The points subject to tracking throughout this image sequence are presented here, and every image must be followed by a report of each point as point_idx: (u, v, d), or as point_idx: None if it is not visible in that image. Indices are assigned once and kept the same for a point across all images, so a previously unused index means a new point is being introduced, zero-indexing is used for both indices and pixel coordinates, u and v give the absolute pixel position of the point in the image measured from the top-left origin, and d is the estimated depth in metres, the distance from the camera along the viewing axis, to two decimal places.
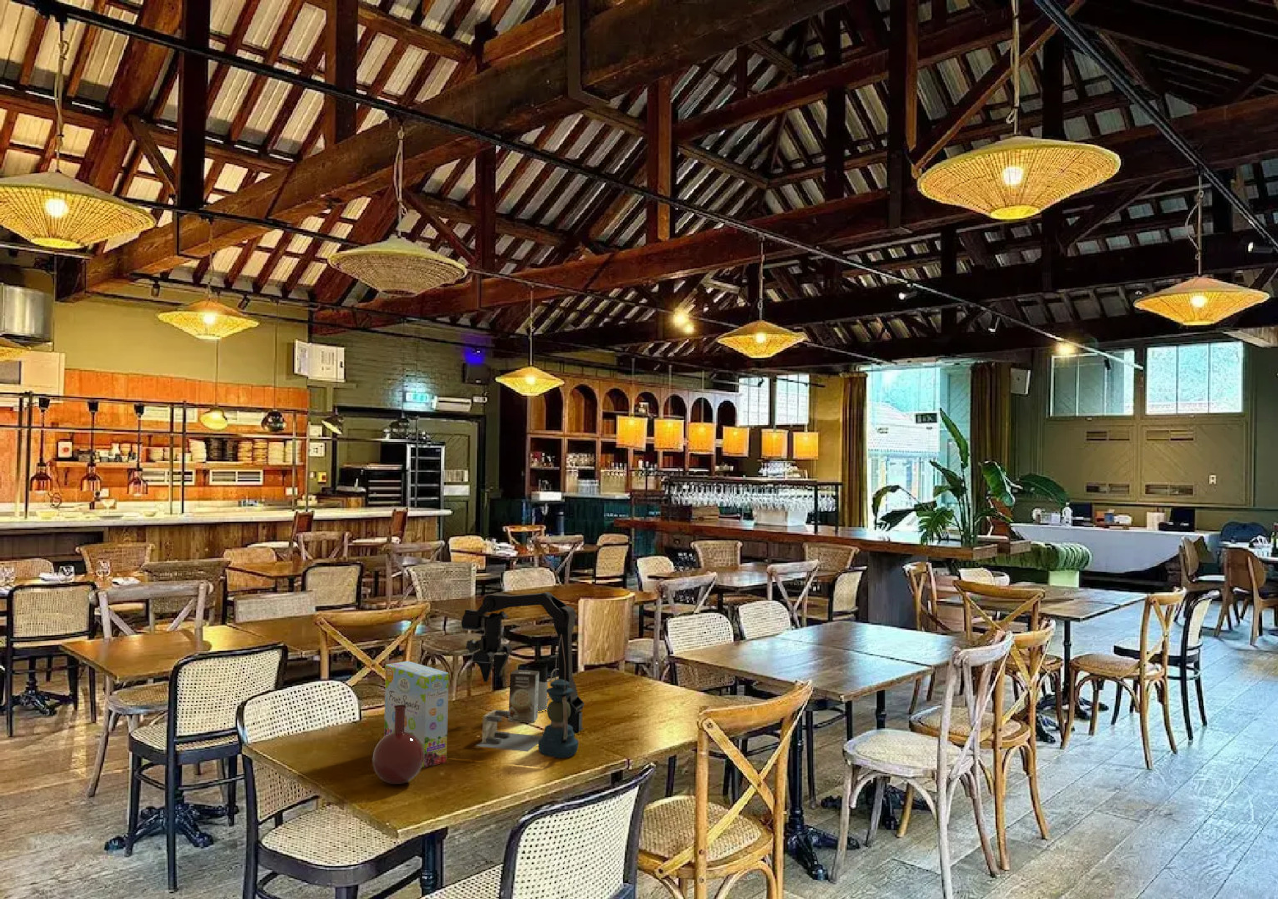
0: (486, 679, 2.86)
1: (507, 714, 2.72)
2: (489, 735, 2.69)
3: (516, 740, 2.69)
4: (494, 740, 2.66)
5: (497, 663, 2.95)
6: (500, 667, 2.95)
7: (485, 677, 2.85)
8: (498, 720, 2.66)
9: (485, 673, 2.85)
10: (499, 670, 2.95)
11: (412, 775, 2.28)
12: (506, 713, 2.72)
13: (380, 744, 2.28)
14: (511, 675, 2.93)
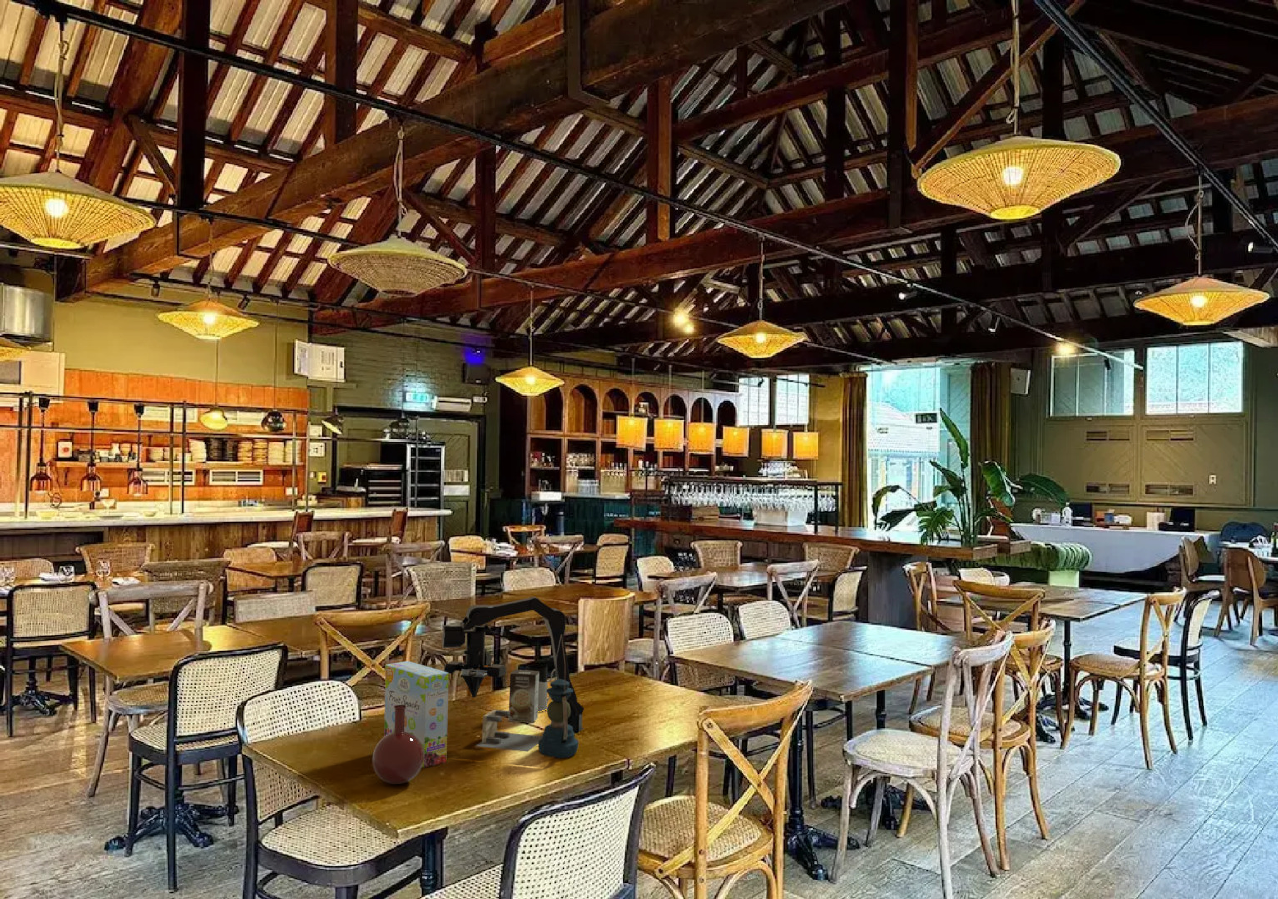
0: None
1: (507, 714, 2.72)
2: (489, 735, 2.69)
3: (516, 740, 2.69)
4: (494, 740, 2.66)
5: None
6: None
7: None
8: (498, 720, 2.66)
9: None
10: None
11: (412, 775, 2.28)
12: (506, 713, 2.72)
13: (380, 744, 2.28)
14: (511, 675, 2.93)
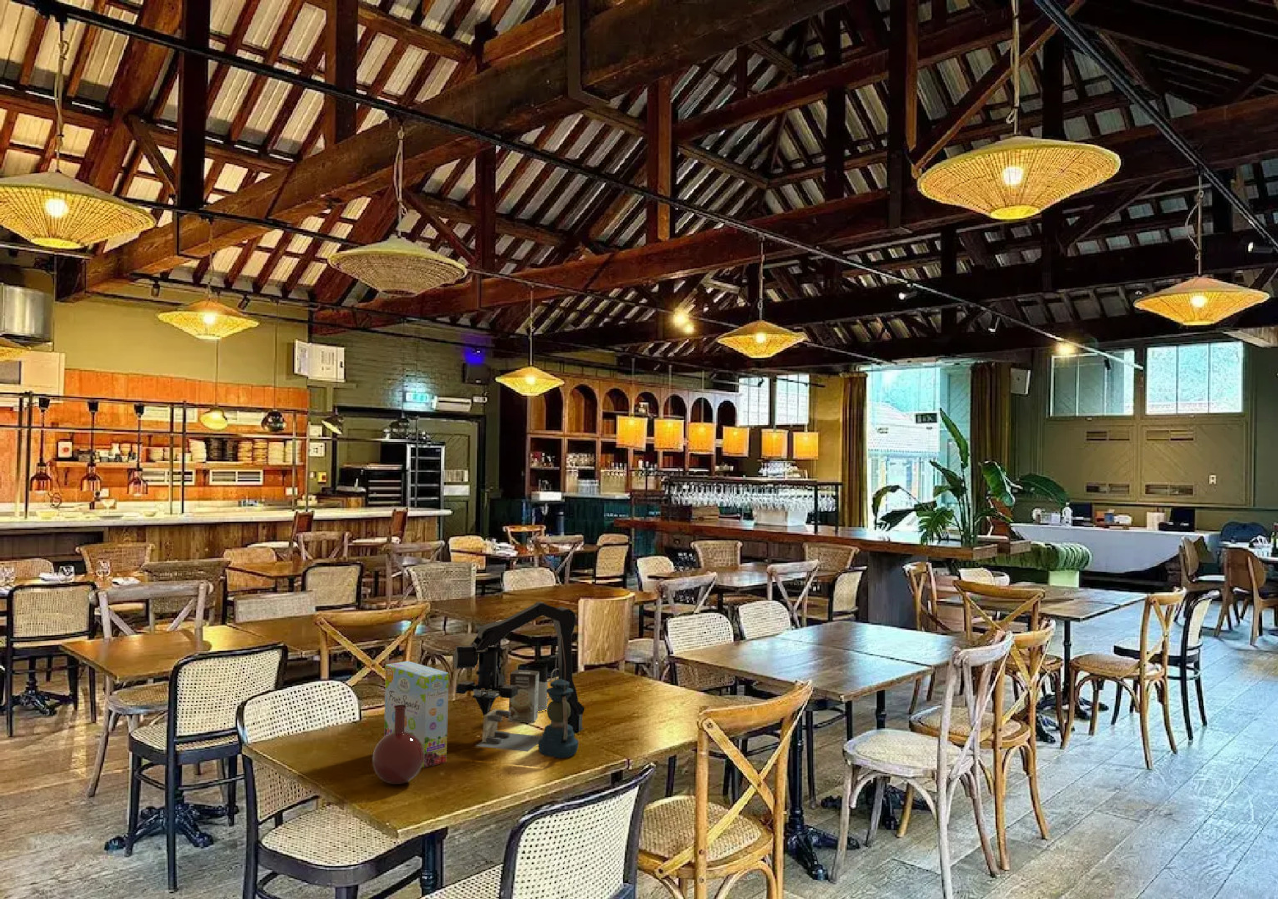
0: None
1: (508, 714, 2.72)
2: (489, 735, 2.69)
3: (516, 740, 2.69)
4: (494, 740, 2.66)
5: None
6: None
7: None
8: (499, 720, 2.66)
9: None
10: None
11: (412, 775, 2.28)
12: (507, 713, 2.72)
13: (380, 744, 2.28)
14: (511, 675, 2.93)
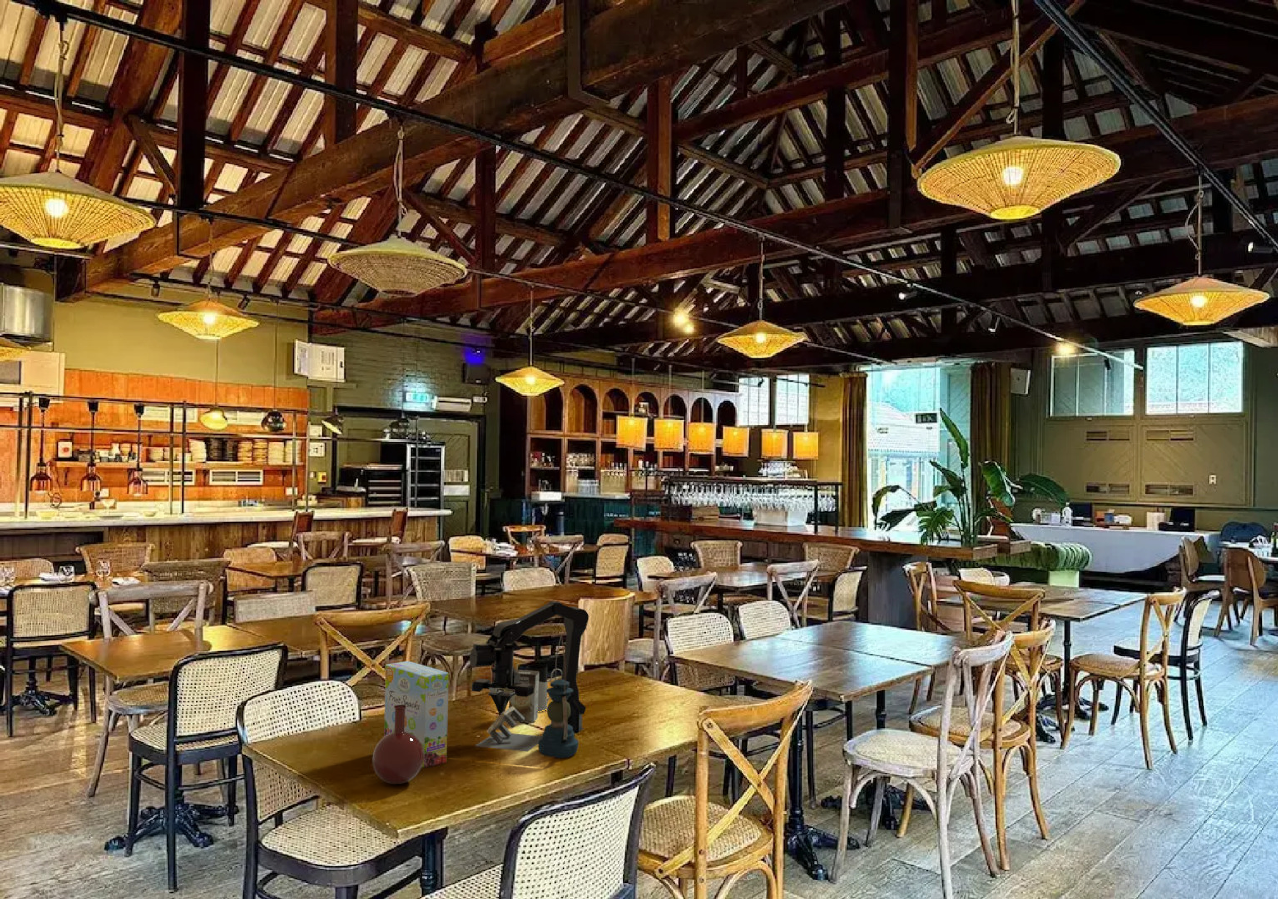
0: None
1: (521, 720, 2.71)
2: (495, 728, 2.68)
3: (516, 740, 2.69)
4: (497, 738, 2.65)
5: None
6: None
7: None
8: (512, 726, 2.64)
9: None
10: None
11: (412, 775, 2.28)
12: (521, 719, 2.71)
13: (380, 744, 2.28)
14: None
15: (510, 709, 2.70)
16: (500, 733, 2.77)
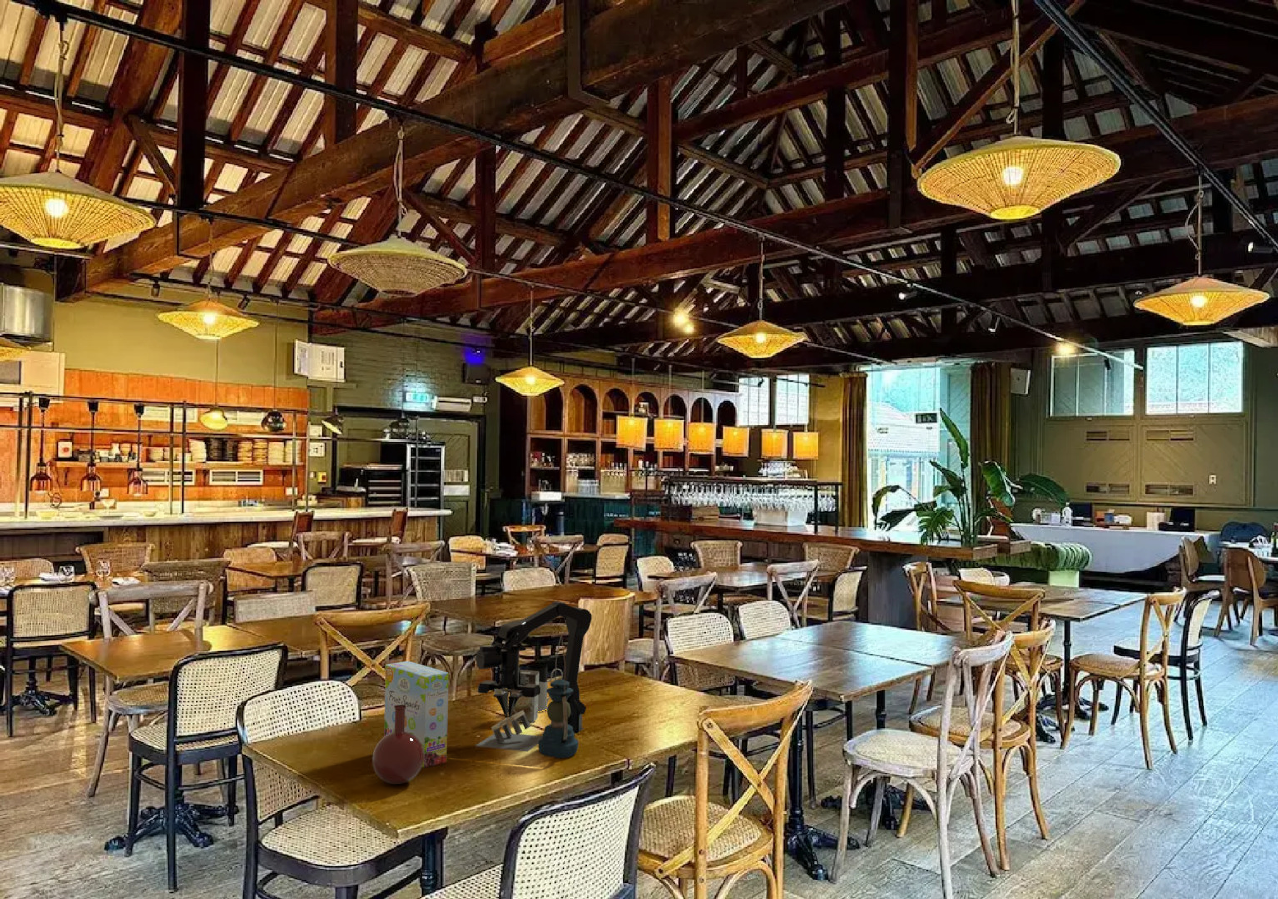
0: None
1: (526, 727, 2.70)
2: None
3: (516, 740, 2.69)
4: (499, 738, 2.65)
5: None
6: None
7: None
8: (517, 733, 2.64)
9: None
10: None
11: (412, 775, 2.28)
12: (526, 726, 2.70)
13: (380, 744, 2.28)
14: None
15: (520, 714, 2.69)
16: None
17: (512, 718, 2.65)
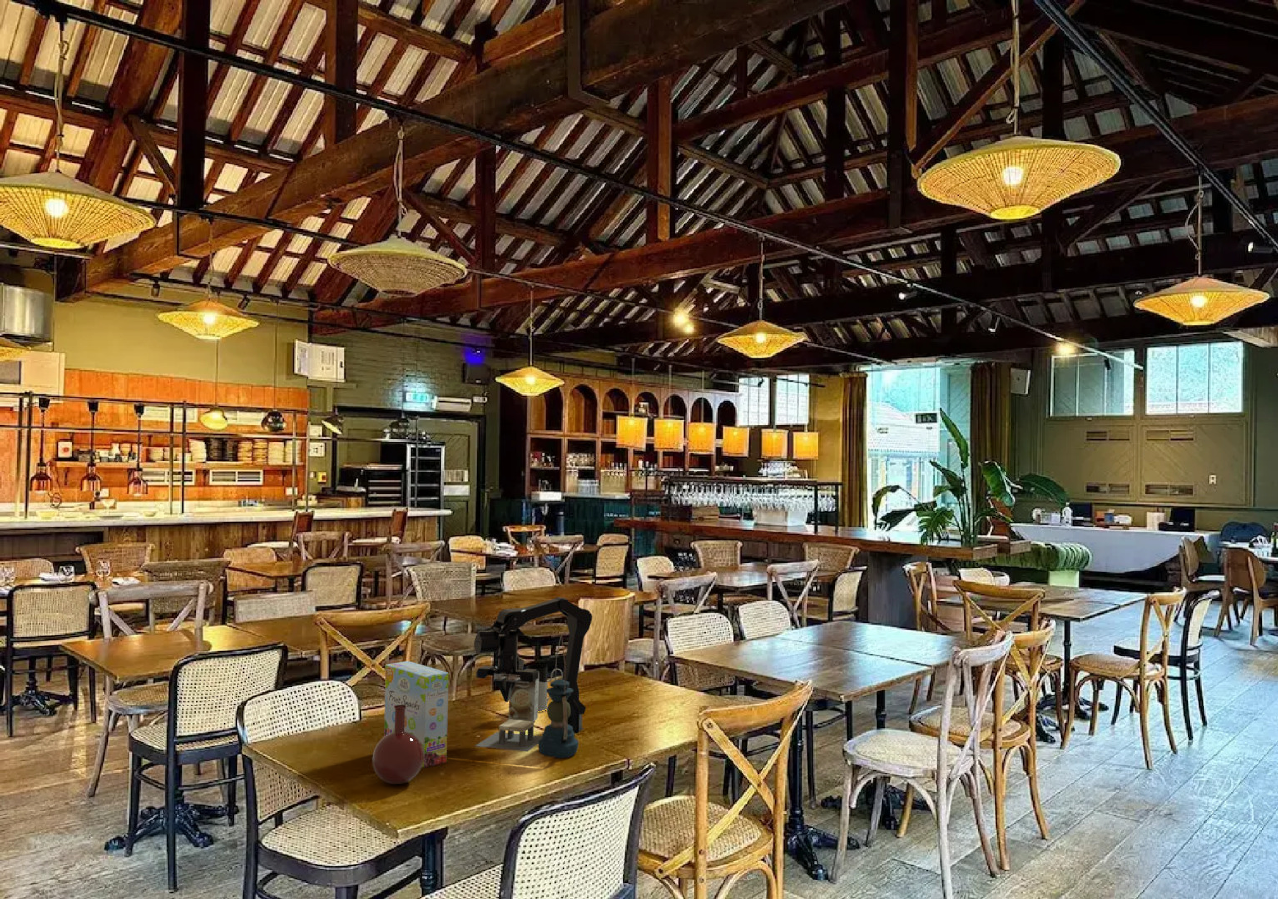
0: None
1: (529, 739, 2.70)
2: None
3: (516, 740, 2.69)
4: (502, 739, 2.65)
5: None
6: None
7: None
8: (520, 745, 2.63)
9: None
10: None
11: (412, 775, 2.28)
12: (530, 738, 2.70)
13: (380, 744, 2.28)
14: None
15: (530, 725, 2.68)
16: None
17: (522, 729, 2.64)
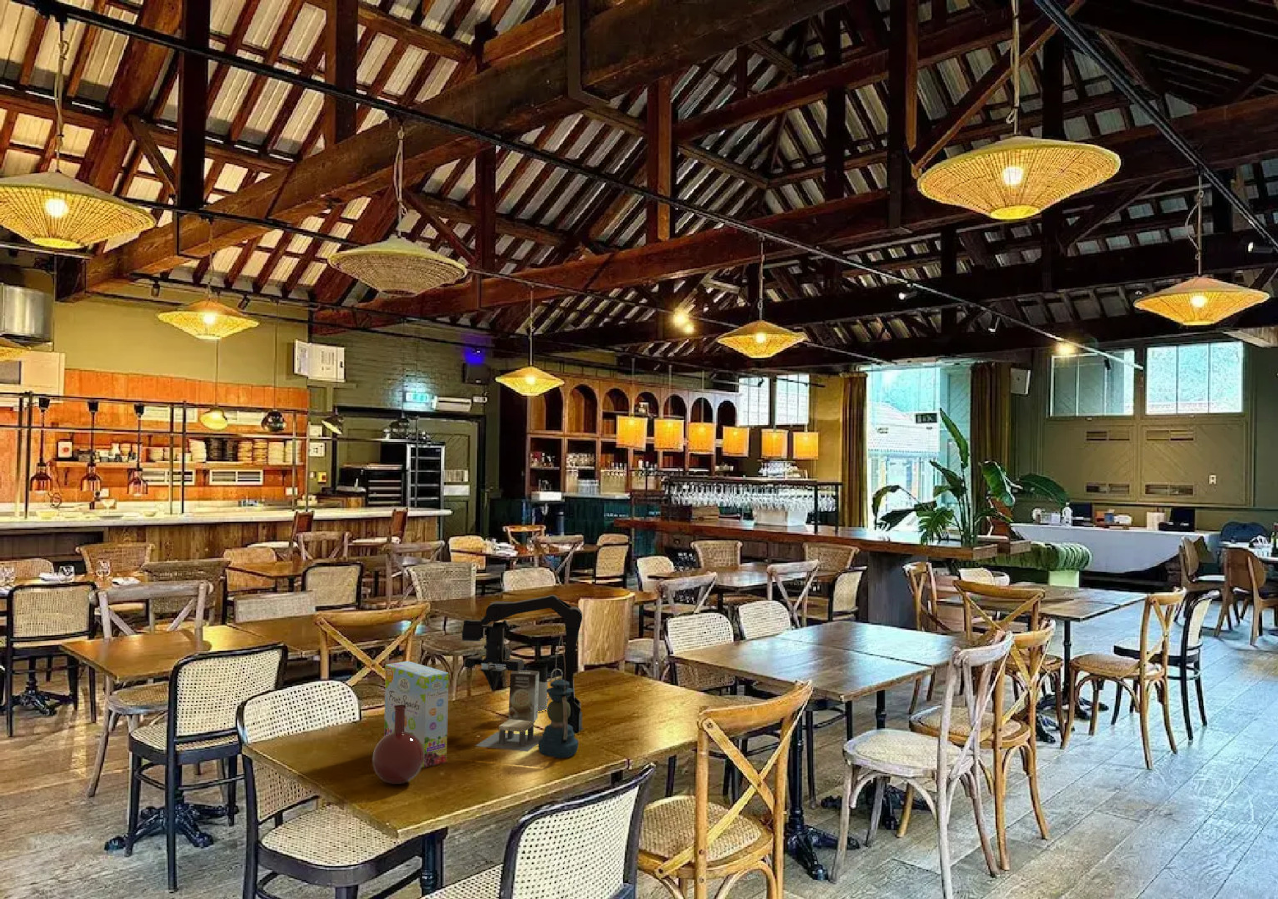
0: None
1: (529, 739, 2.70)
2: None
3: (516, 740, 2.69)
4: (502, 739, 2.65)
5: None
6: None
7: None
8: (520, 745, 2.63)
9: None
10: None
11: (412, 775, 2.28)
12: (530, 738, 2.70)
13: (380, 744, 2.28)
14: (511, 675, 2.93)
15: (530, 725, 2.68)
16: None
17: (522, 729, 2.64)
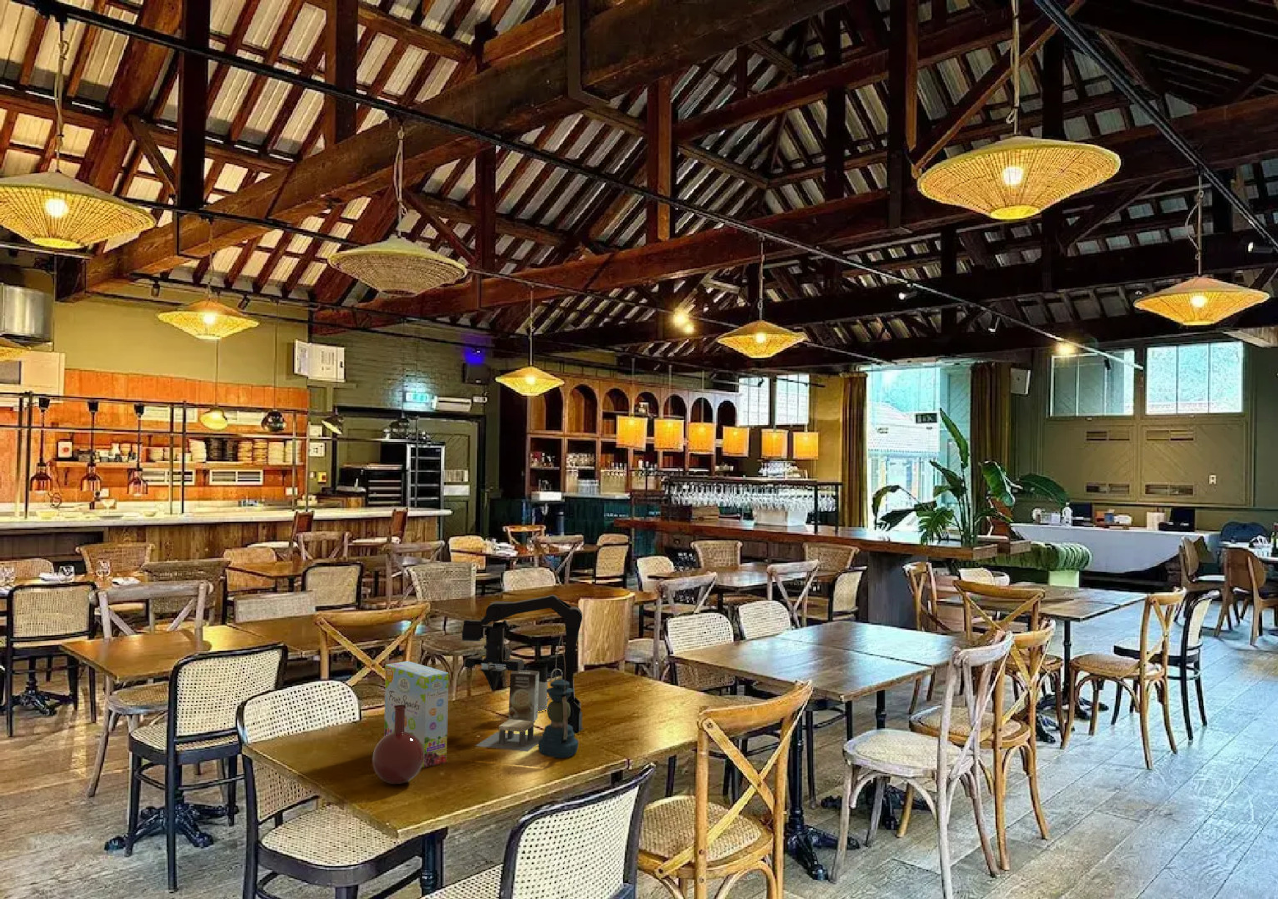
0: None
1: (529, 739, 2.70)
2: None
3: (516, 740, 2.69)
4: (502, 739, 2.65)
5: None
6: None
7: None
8: (520, 745, 2.63)
9: None
10: None
11: (412, 775, 2.28)
12: (530, 738, 2.70)
13: (380, 744, 2.28)
14: (511, 675, 2.93)
15: (530, 725, 2.68)
16: None
17: (522, 729, 2.64)
